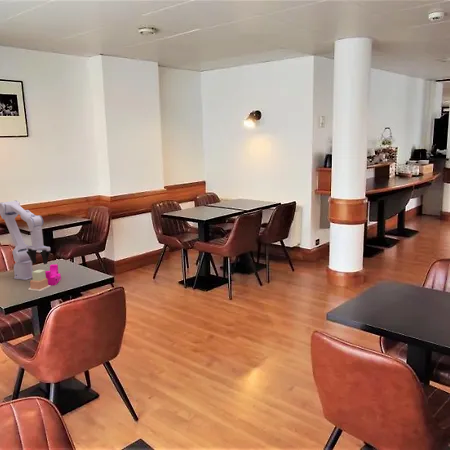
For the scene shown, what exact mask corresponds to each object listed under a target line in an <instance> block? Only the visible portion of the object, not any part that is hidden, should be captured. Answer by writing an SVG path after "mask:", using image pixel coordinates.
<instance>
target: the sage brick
mask: <svg viewBox="0 0 450 450" xmlns="http://www.w3.org/2000/svg"><path fill="white" fill-rule="evenodd" d="M45 271H46V270H45V269H36V270H33V272H32V277H33V278H32V280H33V281H42V280H44V279H46V274H45Z"/></svg>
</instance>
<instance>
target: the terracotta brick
mask: <svg viewBox="0 0 450 450" xmlns="http://www.w3.org/2000/svg"><path fill="white" fill-rule="evenodd" d="M29 285H30V286H29V288H31V289H42V288H45V287H47V286H48V279H47V278H46V279H44V280H42V281H33V279H32V280H31V279H30V280H29Z"/></svg>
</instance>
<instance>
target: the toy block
mask: <svg viewBox="0 0 450 450" xmlns="http://www.w3.org/2000/svg"><path fill="white" fill-rule="evenodd" d="M45 274H46V278H47V279H48V285H51V286H56V285H57V284H59V282H60V281H61V280H62V276H61V273H60V272H59V265H58V263H57V264H50V265H49V270H45Z"/></svg>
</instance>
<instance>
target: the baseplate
mask: <svg viewBox="0 0 450 450" xmlns="http://www.w3.org/2000/svg"><path fill="white" fill-rule="evenodd" d="M49 288H52V285H48V286H47V287H45V288H42V289H31V287H28V288H27V291H33V292H42V291H45V290H47V289H49Z"/></svg>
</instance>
